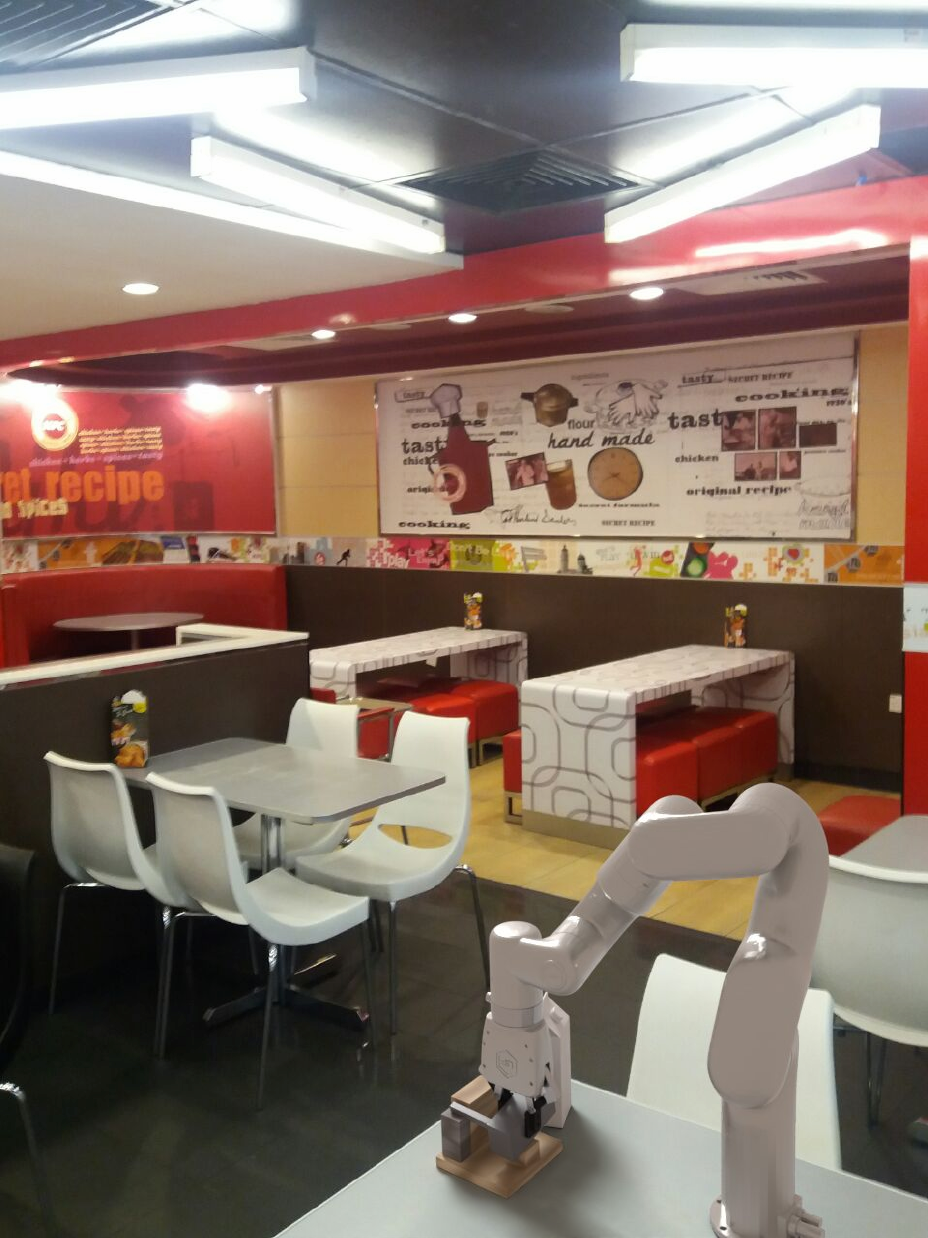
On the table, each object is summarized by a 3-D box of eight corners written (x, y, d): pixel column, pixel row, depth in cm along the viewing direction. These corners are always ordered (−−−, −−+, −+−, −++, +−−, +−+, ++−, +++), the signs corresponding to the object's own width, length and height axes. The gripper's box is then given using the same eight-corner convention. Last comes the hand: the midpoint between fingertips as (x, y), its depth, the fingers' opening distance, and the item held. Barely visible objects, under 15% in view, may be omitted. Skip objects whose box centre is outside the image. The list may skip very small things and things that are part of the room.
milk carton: (517, 1123, 176) (514, 1008, 174) (528, 1099, 183) (525, 988, 180) (562, 1129, 174) (560, 1013, 171) (571, 1104, 181) (569, 992, 178)
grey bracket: (555, 1112, 168) (552, 1085, 166) (513, 1163, 160) (509, 1135, 158) (496, 1085, 175) (492, 1059, 173) (453, 1133, 167) (448, 1106, 165)
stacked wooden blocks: (562, 1150, 169) (561, 1090, 167) (507, 1199, 158) (505, 1136, 157) (492, 1121, 177) (491, 1064, 175) (436, 1166, 166) (433, 1105, 165)
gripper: (455, 1004, 164) (458, 1121, 166) (551, 1037, 154) (553, 1161, 156) (486, 984, 170) (489, 1098, 172) (580, 1015, 159) (582, 1136, 162)
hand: (519, 1127), depth 164 cm, fingers closed on grey bracket, 3 cm apart
